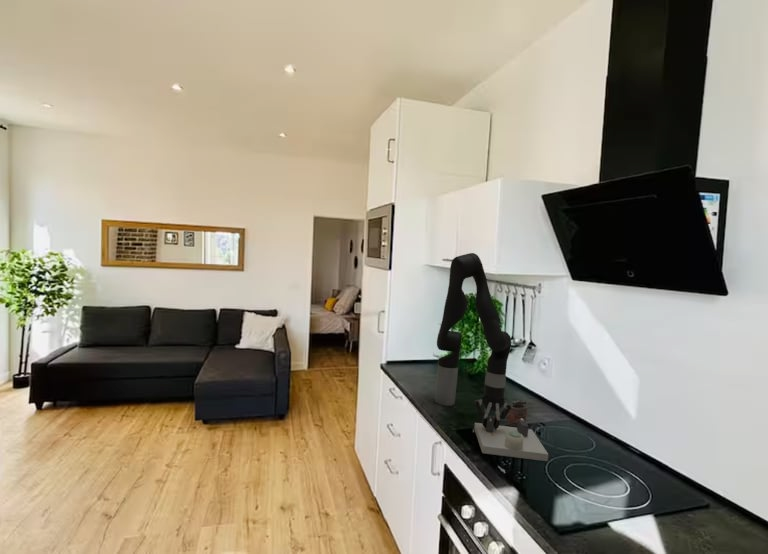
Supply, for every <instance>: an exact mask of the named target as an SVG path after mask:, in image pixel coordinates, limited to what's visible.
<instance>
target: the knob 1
mask: <svg viewBox="0 0 768 554" xmlns="http://www.w3.org/2000/svg"><path fill="white" fill-rule="evenodd" d="M495 418H496V415H495V416H494V415H490V414H488V417H487V426H486V431H488V432H493V429H494V422H495Z"/></svg>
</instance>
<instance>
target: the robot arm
mask: <svg viewBox="0 0 768 554" xmlns="http://www.w3.org/2000/svg"><path fill="white" fill-rule="evenodd" d="M469 278H473V280H474V283H475V286H476V287H475V289H476V292H475V302H474V303H475V304H474V305H475V309H476V313H477V315H478V318H479V320H480V323H481V324H482V328H483V334H484V338H485V341H486V344H487V345H488V347H489V349H490V350H491V354H490V355H489V357H488V359H487V365H486V373H485V376H484V377H485V378H484V384H483V385H484V386H483V395H482V397H481V398H480V399H477V398H476V399H474V402H475V403H474V404H475V406H476V409H477V413H478V415H479V417H482V424H483V426H484V428H486V426H487V419H488V416H489V415H490V411H494V412H495V413H494V414H495V422H494V429H496V430H497V428H498V427H499V426H500V420H505V419H506V417H507V415H509V412H510V409H511V406H512V405H511V404H510V403H508V402H506V401H505V400H504V398H505V391H506V381H507V376H506V374H507V366H508V365H507V364H508V363H507V362H508V358H509V356H510V352H511V346H512V339H511V335H510V334H509V333H508V332H507V331H504V330H502V329H501V326H500V323H501V318H500V316H499V313H498V311H497V309H496V306H495V304H494V301H493V299H492V296H491V293H490V289H489V285H488V282H487V281H488V280H487V277H486V274H485V270H484V266H483V263H482V260H481V258H480V256H479V255H477V254H476V253H474V252H470V253H464V254H460V255H458V256H455V257H453V259H452V260H451V263H450V268H449V279H448V280H449V281H448V286H447V287H448V288H447V294H446V299H445V301H444V302H445V303H444V307H443V313H442V314H443V315H442V321H441V324H440V327H439V330H438V333H437V338H436V347H437V349H438V350H439V351H443V352H444V351H445V352H451V353H449V354H447V355H445V356H441V357H439V358H438V360H437V372H436V383H435V392H434V402H435V403H436V404H438V405H441V406H446V407H447V406H448V407H449V406H450V407H451V406H454V405H455V402H456V393H457V392H456V391H457V383H458V372H459V361H460V354H461V348H462V341H463V340H462V339H463V338H462V334H461V332H459V331H455V330H451V329H452V327H454V326H456V324H458V323H459V322H460V321H461V320H463V318H464V317H465V315H466V312H467V308H468V304H469V303H468V298H467V296H466V294H465V292H464V290H463V283H464V281H465V279H469ZM482 404H483V405H484V409H483V410H484V411H482V409H481V406H482ZM502 407H503V410H502V412H501V413H500V409H501V408H502Z"/></svg>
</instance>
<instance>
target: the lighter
mask: <svg viewBox="0 0 768 554" xmlns="http://www.w3.org/2000/svg"><path fill="white" fill-rule="evenodd" d="M528 409H529V407H528V406H527V401H526V400H518V399H516V400H515V401H514V400H513V401H512V405H511V409H510V410H509V412H508V421H507V425H508V426H509V427H517V424H518V419H520V418H522V419H524V420H525V421H526V422H527V413H528Z"/></svg>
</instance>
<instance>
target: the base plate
mask: <svg viewBox="0 0 768 554" xmlns="http://www.w3.org/2000/svg"><path fill="white" fill-rule="evenodd" d="M473 429H474V432H475V435H476V438H477V441H478V444H479V447H480V450H481V453H482V454H484V455H485V454H486V455H494V456H495V455H496V456H502V457H511V458H518V459H519V458H520V459H526V460H534V461H543V462H548V461H549V453H548V451H547V450H546V448H545V447H544V445H543V444H542V443H541V441H540V440H539V438H538V437H537V435H536V433H535V432H534V430H533V429H531V428H528V437H527V436H523V435H522V434H520V433H519V432H518V430H517V426H509V425H508V426H506V425H499V427H498V428H497V430H496V429H493V432H488V431H486V428H484V426H483V424H482V423H481V422H474V428H473Z"/></svg>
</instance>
